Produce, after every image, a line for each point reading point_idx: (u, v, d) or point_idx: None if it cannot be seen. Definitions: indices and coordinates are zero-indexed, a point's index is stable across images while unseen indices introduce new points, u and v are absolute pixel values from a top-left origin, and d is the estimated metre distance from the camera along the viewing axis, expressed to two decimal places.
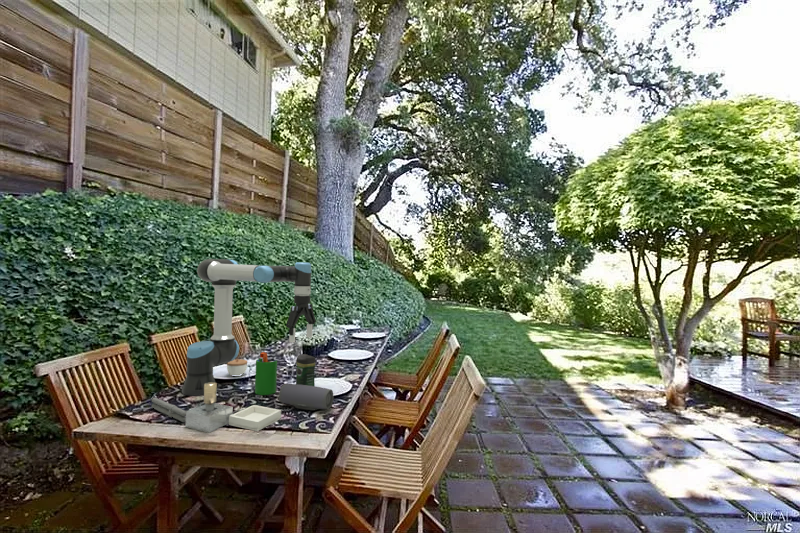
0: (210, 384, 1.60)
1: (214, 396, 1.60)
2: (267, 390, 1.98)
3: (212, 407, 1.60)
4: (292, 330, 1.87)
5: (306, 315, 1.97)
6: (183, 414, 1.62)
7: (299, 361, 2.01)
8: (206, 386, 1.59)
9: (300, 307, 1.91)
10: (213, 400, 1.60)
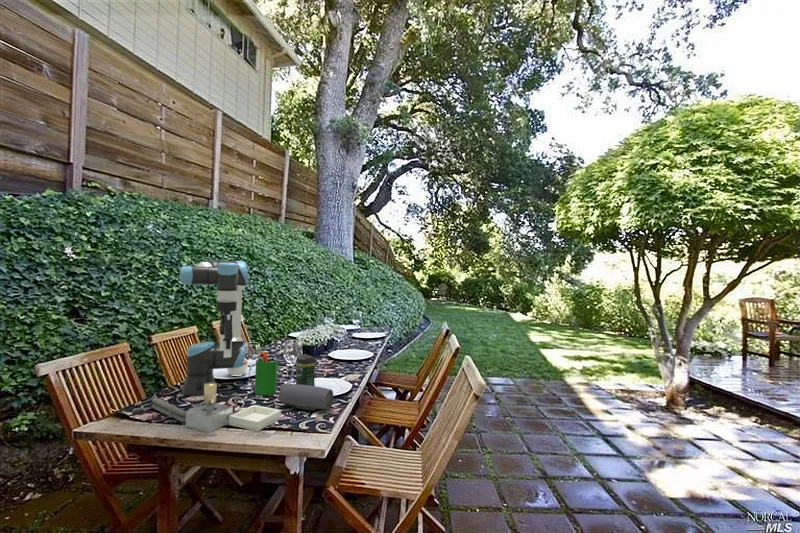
0: (210, 384, 1.60)
1: (214, 396, 1.60)
2: (267, 390, 1.98)
3: (212, 407, 1.60)
4: None
5: None
6: (182, 414, 1.61)
7: (299, 361, 2.01)
8: (206, 386, 1.59)
9: (222, 314, 1.67)
10: (213, 400, 1.60)
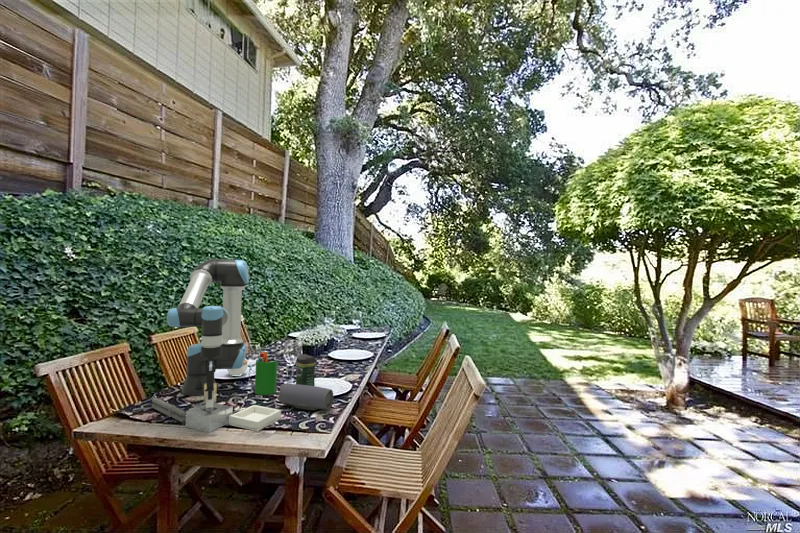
0: None
1: (214, 396, 1.60)
2: (267, 390, 1.98)
3: (212, 407, 1.60)
4: None
5: None
6: (182, 414, 1.61)
7: (299, 361, 2.01)
8: (206, 386, 1.59)
9: None
10: None
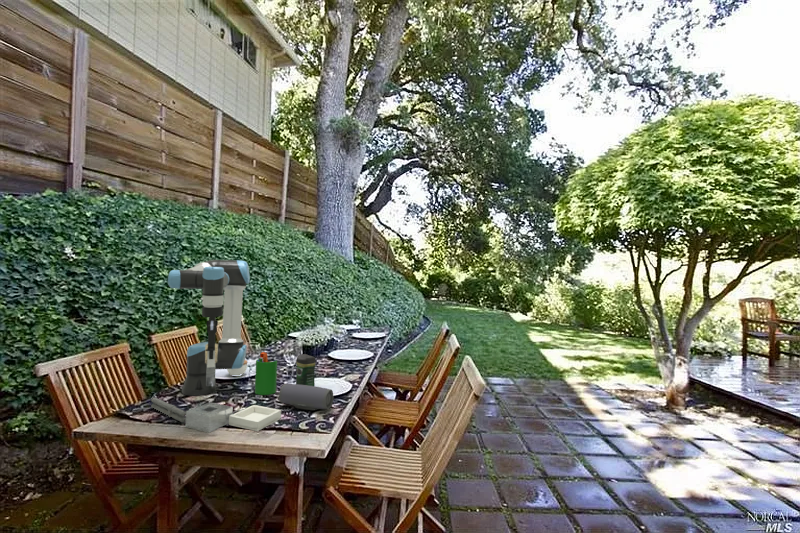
0: None
1: (215, 357, 1.60)
2: (267, 390, 1.98)
3: (213, 368, 1.60)
4: None
5: None
6: (182, 414, 1.61)
7: (299, 361, 2.01)
8: (207, 346, 1.59)
9: None
10: None
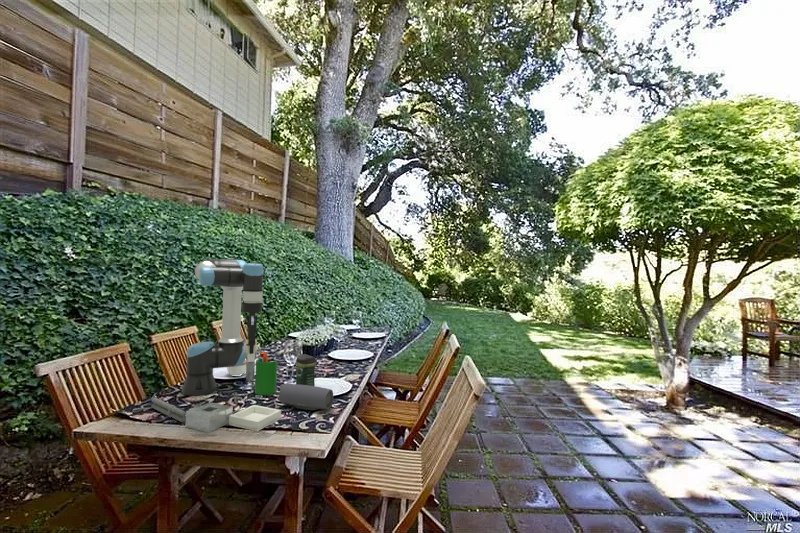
0: None
1: (255, 351, 1.63)
2: (267, 390, 1.98)
3: (253, 362, 1.63)
4: None
5: None
6: (182, 414, 1.61)
7: (299, 361, 2.01)
8: (247, 341, 1.62)
9: None
10: None
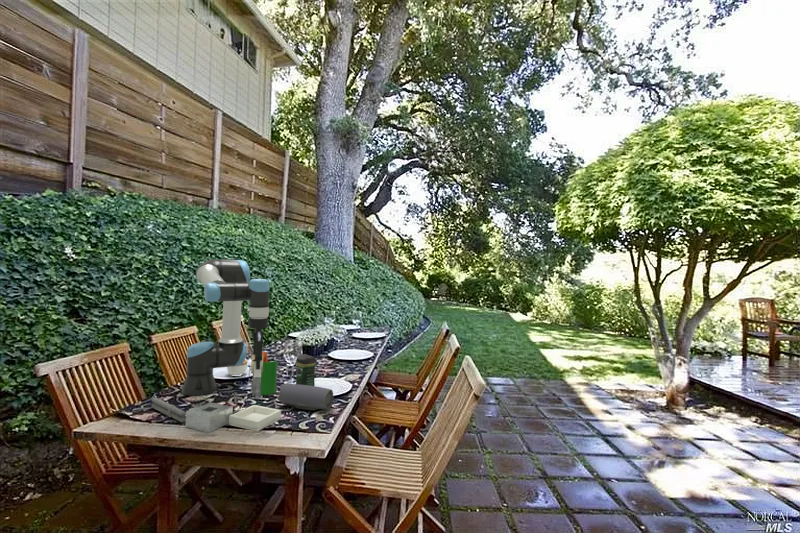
0: None
1: (261, 367, 1.64)
2: (267, 390, 1.98)
3: (259, 378, 1.64)
4: None
5: None
6: (181, 414, 1.61)
7: (299, 361, 2.01)
8: (254, 357, 1.63)
9: None
10: None
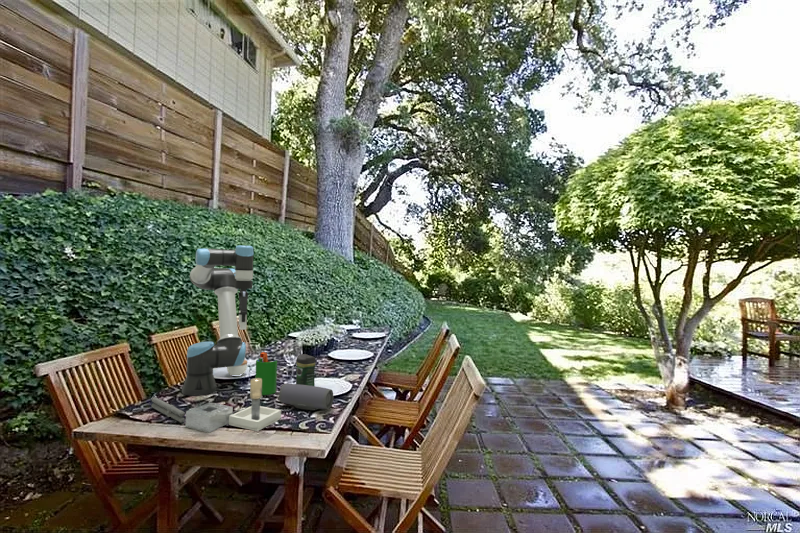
0: (256, 380, 1.64)
1: (260, 391, 1.64)
2: (267, 390, 1.98)
3: (258, 402, 1.64)
4: (240, 312, 1.91)
5: None
6: (180, 414, 1.61)
7: (299, 361, 2.01)
8: (253, 382, 1.63)
9: (240, 291, 1.86)
10: (259, 395, 1.64)
